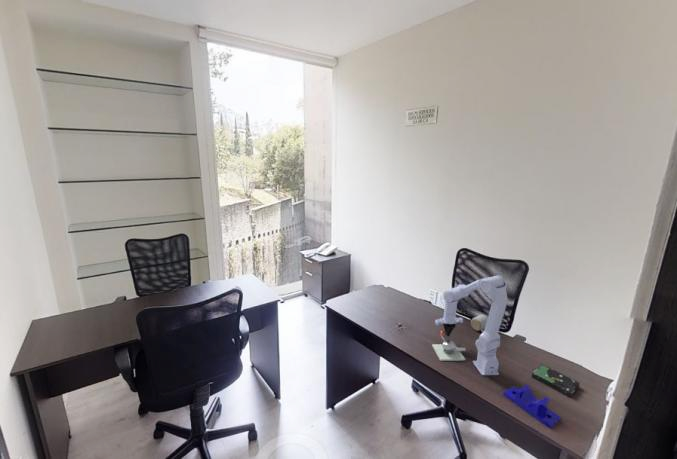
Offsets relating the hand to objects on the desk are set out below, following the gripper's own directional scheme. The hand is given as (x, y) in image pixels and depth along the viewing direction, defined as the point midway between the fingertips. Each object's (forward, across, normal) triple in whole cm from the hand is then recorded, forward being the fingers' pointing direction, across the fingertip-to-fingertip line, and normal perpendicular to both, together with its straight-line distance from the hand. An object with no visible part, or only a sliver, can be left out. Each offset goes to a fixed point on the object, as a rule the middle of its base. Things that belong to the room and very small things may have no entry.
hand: (447, 335), depth 161 cm
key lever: (+1, +4, +5) cm, 6 cm away
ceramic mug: (+4, -26, -8) cm, 27 cm away
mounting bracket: (+4, -11, +45) cm, 47 cm away
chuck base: (+4, +3, +9) cm, 10 cm away
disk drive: (+5, -32, +35) cm, 47 cm away
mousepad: (+5, +16, -16) cm, 23 cm away
